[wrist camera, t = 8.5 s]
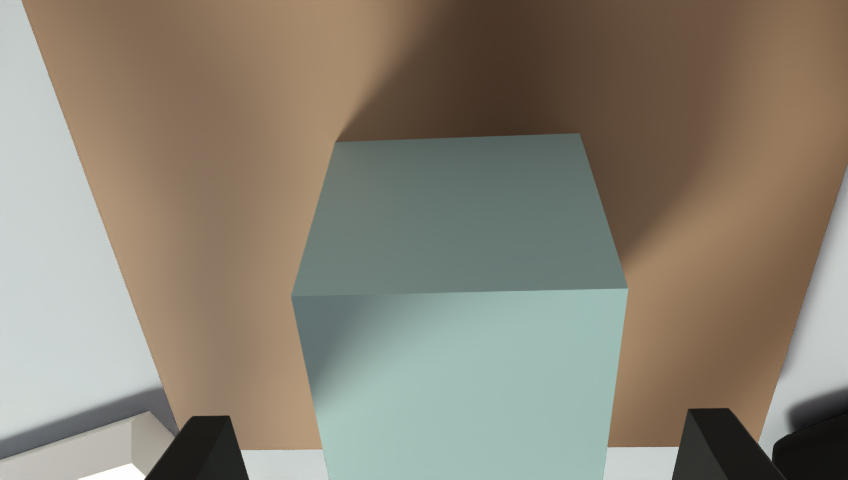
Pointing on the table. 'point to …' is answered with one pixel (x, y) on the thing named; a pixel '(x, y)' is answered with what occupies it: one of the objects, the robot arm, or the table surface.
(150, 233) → the stub board
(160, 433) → the marker
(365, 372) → the mint green cube
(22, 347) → the table surface
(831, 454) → the electric trimmer
